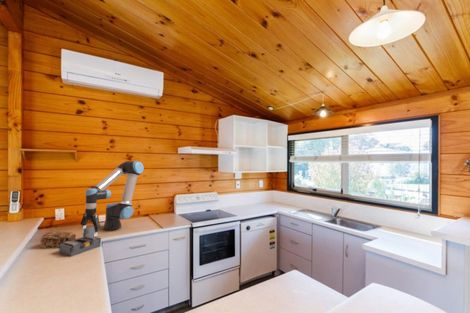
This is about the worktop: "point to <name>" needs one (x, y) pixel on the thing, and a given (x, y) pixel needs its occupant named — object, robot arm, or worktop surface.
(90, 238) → the rack
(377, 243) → the worktop surface
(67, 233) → the bread
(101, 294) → the worktop surface
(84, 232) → the block
